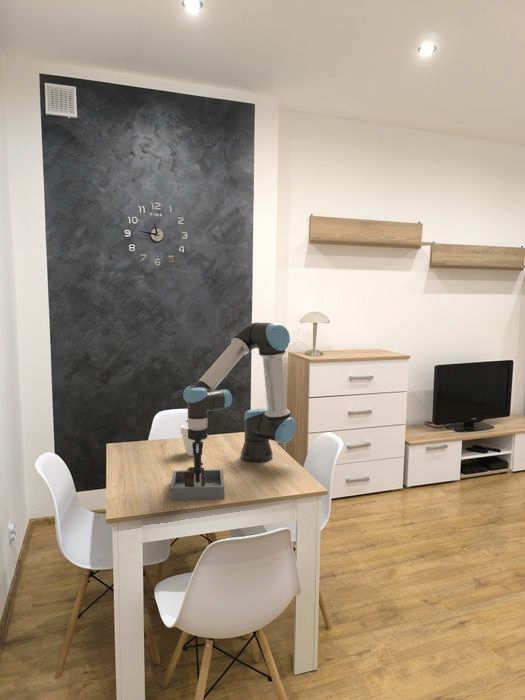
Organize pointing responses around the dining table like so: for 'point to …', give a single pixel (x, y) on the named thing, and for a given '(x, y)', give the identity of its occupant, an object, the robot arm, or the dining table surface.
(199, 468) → the robot arm
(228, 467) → the dining table surface
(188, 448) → the cup
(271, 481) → the dining table surface
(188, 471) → the box
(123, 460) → the dining table surface
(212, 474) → the bin
